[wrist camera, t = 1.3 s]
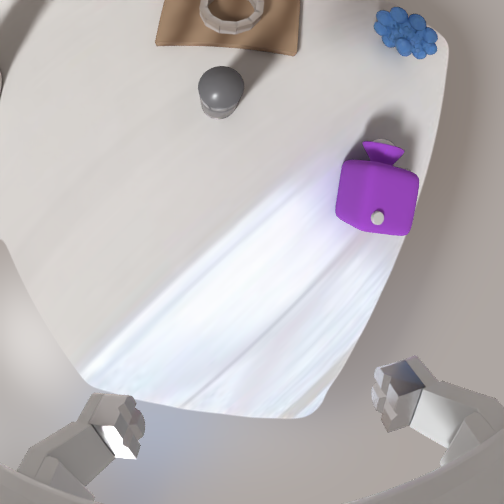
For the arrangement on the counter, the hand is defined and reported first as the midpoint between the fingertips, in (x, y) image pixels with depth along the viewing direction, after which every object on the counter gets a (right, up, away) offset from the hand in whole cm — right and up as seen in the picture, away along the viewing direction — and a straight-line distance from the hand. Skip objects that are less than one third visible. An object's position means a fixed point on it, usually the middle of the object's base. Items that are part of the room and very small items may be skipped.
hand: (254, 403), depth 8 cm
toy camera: (+17, +16, +34) cm, 41 cm away
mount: (-3, +40, +23) cm, 46 cm away
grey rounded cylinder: (-5, +25, +27) cm, 37 cm away
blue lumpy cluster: (+22, +39, +26) cm, 53 cm away
